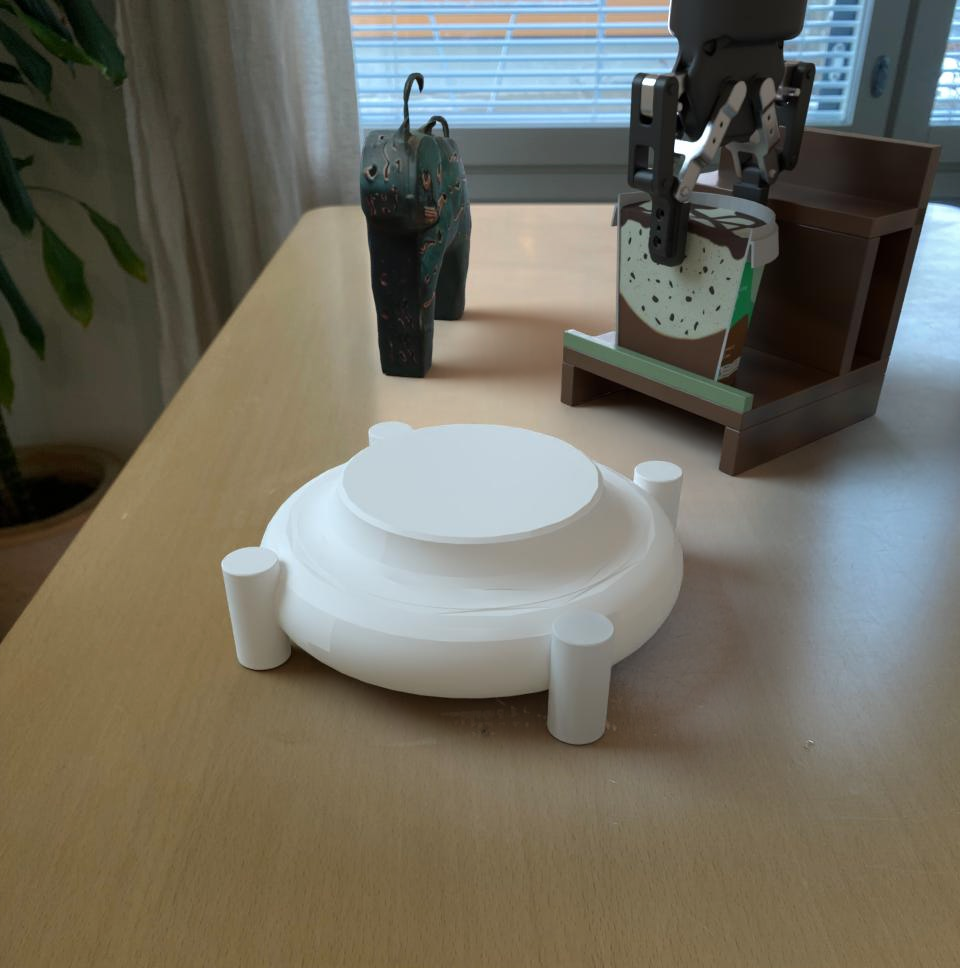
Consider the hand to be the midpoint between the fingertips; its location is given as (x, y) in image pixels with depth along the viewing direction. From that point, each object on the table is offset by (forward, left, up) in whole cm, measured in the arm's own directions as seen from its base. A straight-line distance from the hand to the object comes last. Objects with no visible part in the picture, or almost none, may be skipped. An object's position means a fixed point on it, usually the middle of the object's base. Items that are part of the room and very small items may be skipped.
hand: (705, 253), depth 63 cm
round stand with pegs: (+26, +9, -11) cm, 30 cm away
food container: (0, 0, -7) cm, 7 cm away
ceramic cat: (+5, -25, -11) cm, 28 cm away
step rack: (-3, 0, -11) cm, 12 cm away
